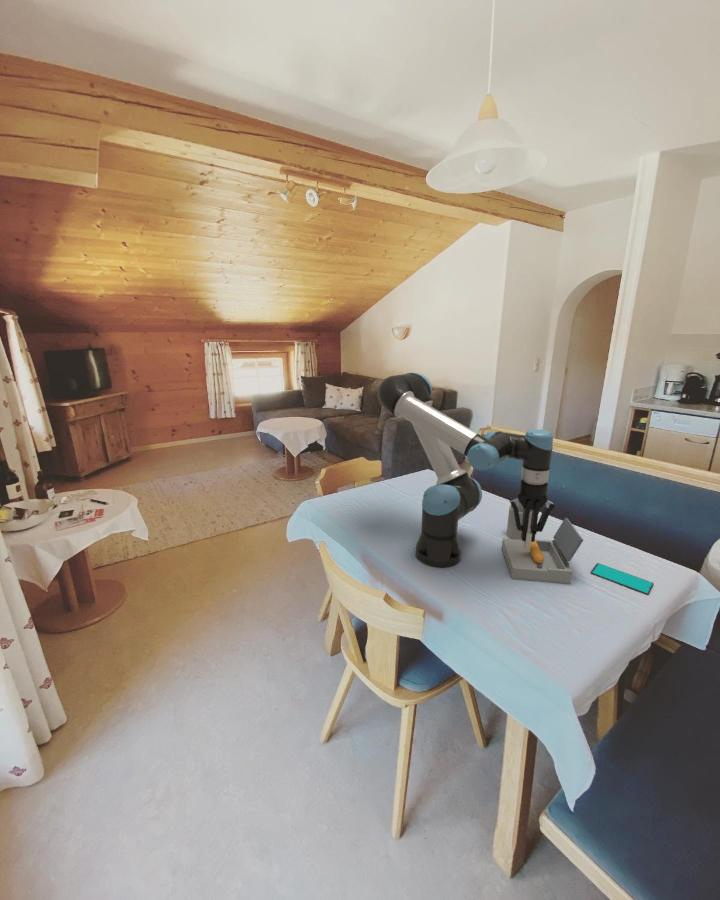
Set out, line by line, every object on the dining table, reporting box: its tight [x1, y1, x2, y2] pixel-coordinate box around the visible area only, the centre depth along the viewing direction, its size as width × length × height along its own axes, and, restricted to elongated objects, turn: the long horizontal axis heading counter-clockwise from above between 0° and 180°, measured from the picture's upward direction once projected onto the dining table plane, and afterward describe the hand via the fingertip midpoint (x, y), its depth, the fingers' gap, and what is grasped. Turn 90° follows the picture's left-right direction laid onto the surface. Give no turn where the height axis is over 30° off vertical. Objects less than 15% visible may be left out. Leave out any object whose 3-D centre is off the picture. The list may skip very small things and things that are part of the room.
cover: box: [551, 517, 584, 567], centre depth 122 cm, size 10×14×1 cm
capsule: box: [530, 541, 544, 563], centre depth 125 cm, size 3×12×3 cm
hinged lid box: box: [501, 538, 573, 585], centre depth 126 cm, size 17×18×4 cm
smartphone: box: [590, 562, 654, 596], centre depth 119 cm, size 7×1×15 cm
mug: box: [506, 503, 532, 540], centre depth 144 cm, size 12×8×11 cm
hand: (526, 549), depth 125 cm, fingers closed
